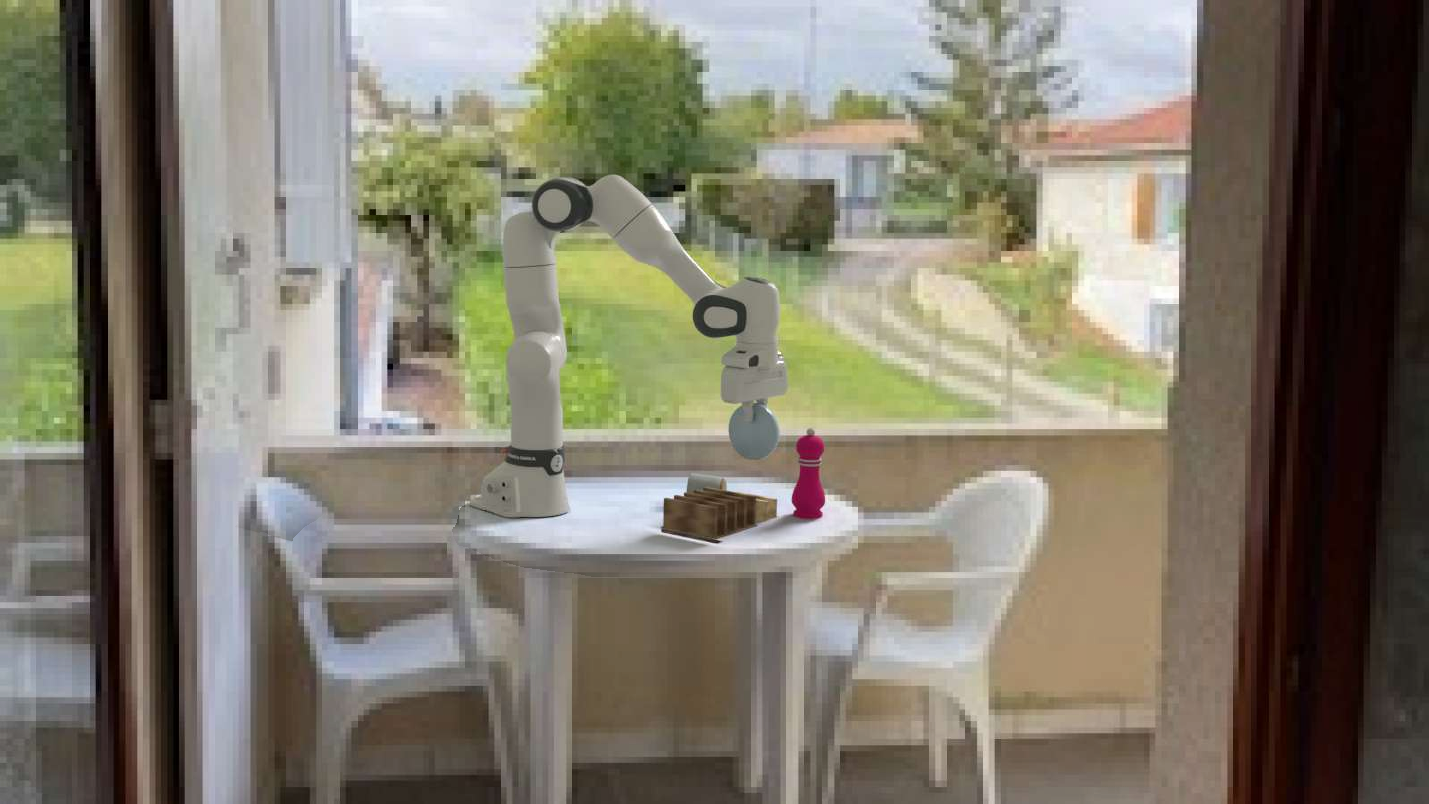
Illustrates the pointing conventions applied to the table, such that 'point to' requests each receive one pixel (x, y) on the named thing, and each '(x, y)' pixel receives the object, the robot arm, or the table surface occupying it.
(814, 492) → the pepper mill
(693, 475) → the ceramic mug
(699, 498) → the dish rack
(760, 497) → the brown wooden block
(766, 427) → the plate
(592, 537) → the table surface
